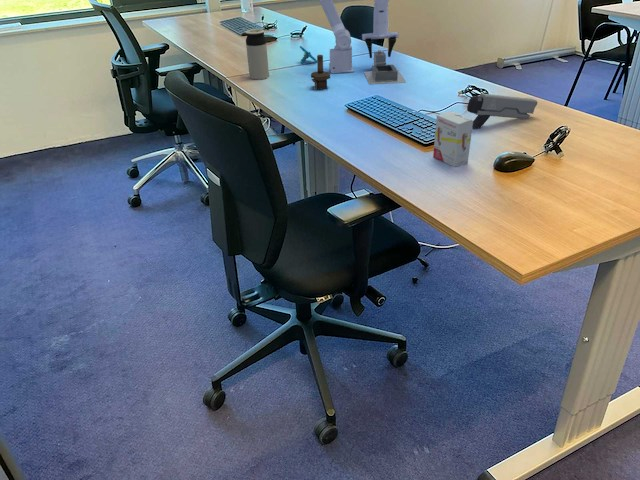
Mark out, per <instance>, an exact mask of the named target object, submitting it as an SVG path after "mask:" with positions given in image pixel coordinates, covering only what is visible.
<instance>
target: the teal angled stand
mask: <svg viewBox="0 0 640 480" xmlns="http://www.w3.org/2000/svg"><path fill="white" fill-rule="evenodd" d="M299 49H300V50H302V52H304V53H303V56H302V58H301V59H300V64H302V63H303V64H304V62H306V60H307V59H309V58H310V59H311V60H312V61H314V62H315V63H316V64H317V58H316V57H314V56H313V55H312V53H311V52H310V51H308V50H307V49H306V48H304V47H303V46H302V45H300V46H299Z"/></svg>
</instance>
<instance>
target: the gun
mask: <svg viewBox="0 0 640 480" xmlns="http://www.w3.org/2000/svg"><path fill="white" fill-rule="evenodd" d="M537 105H538V101H537V100H536V99H533V98H527V97H518V96H511V95H510V96H508V95H497V94H489V93H488V94H487V93H480V94H479V95H478V96H476V95H473V96H470V98H469V100H468V104H467V106H466V107H467V109H466V110H467V112H468V113H470V114H471V113H472V114H474V115H476V117H475V118H474V119H473V126H472V130H473V129H477V130H480V129H481V128H482V127H483V125H485V123H486V122H487V121H488V120H489V119H490V117H497V118H498V117H500V118H510V119H525V120H528V119H530V117H531V115H532V114H534V112H535V109H536V107H537ZM530 114H531V115H530Z"/></svg>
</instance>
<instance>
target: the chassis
mask: <svg viewBox="0 0 640 480" xmlns="http://www.w3.org/2000/svg"><path fill="white" fill-rule="evenodd" d="M363 74H364V76H365V79H366V80H367V83H368V84H369V85H377V84H378V85H379V84H380V85H381V84H383V85H384V84H398V83H401V84H402V83H403V84H404V83H406V79H405V78H404V76H403V75H402V73H401V72H400V70H399V69H397V68H396V67H395V65H394V64H386V65H374V64H373V65H371V71H364V72H363Z"/></svg>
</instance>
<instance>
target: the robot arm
mask: <svg viewBox="0 0 640 480" xmlns="http://www.w3.org/2000/svg"><path fill="white" fill-rule="evenodd" d="M389 1H390V0H373V2H374V3H373V4H374V5H373V7H374V9H373V30H372V31H373V32H369V33H362V34H361V39H362V40H363V41H364V42H365V44H366V46H367V50H368V54H369V55H368V57H369V59H373V54H372V53H373V52H372V51H373V50H372V49H373V48H372V47H373V42H372V40H379V39H380V40H381V39H388V40H387V41H388V49H387V50H388V51H387V57H388V58H391V55H392V51H393V49H394V46H395V44H396V42H397V39H399V38H400V37H399V35H400V34H399V32H397V31H395V32H394V31H390V32H389V31H388V29H389V9H388V8H389ZM318 2H319V3H320V5H321V8H322V11H323V12H324V15H325V16H326V19H327V21H328V23H329V25H330V27H331V30H332V33H333V35H334V37H335V39H334V40H335V45H334V47H333V48H329V62H328V63H329V64H328V67H329V70H330V74H338V73H340V74H341V73H343V74H344V73H354V72H355V70H354V68H353V46H352V45H351V44H352V38H351V33H350V31H349V30H348V29H347V28H346V27H345V26H344V23H343V21H342V19H341V17H340V15H339V12H338V10H337V8H336V6H335V3H334V1H333V0H318Z"/></svg>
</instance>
